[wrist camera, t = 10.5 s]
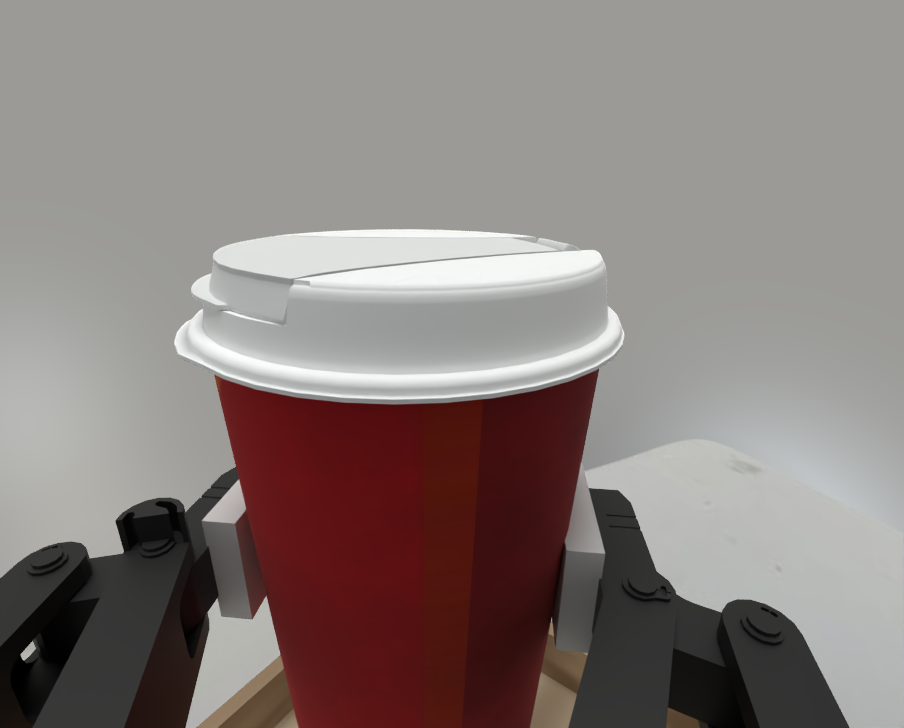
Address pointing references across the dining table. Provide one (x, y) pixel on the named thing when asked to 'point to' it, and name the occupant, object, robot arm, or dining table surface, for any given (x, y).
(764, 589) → the dining table surface
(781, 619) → the robot arm
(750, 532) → the dining table surface
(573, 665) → the box
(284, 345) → the coffee cup
